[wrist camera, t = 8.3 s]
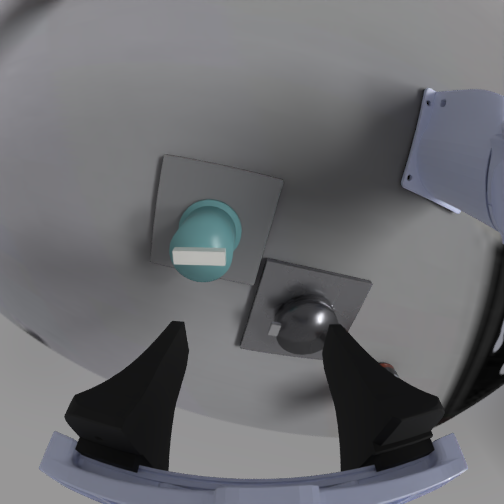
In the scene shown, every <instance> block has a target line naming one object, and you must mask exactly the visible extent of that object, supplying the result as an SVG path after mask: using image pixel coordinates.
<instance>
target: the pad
mask: <svg viewBox="0 0 504 504" xmlns="http://www.w3.org/2000/svg"><path fill="white" fill-rule="evenodd" d="M283 182H284V180H283V179H279V178H275V177H271V176H267V175H263V174H259V173H255V172H251V171H247V170H242V169H238V168H234V167H229V166H225V165H220V164H215V163H211V162H206V161H201V160H195V159H190V158H185V157H179V156H174V155H168V154H166V155H164V158H163V164H162V169H161V175H160V182H159V188H158V195H157V202H156V210H155V218H154V226H153V236H152V246H151V257H150V262H152V263H156V264H160V265H164V266H168V267H172V268H175V267H174V265H173V263H172V261H171V258H170V254H169V248H170V242H171V240H172V238H173V236H174V235H175V233H176V232H177V230H178V229H179V222H180V219H181V217H182V215H183V213H184V212H185V211H186V210H187V208H188V207H189V206H191V205H192V204H193V203H195V202H197V201H200V200H204V199H215V200H219V201H222V202H224V203H226V204H228V205H229V206H230V207H232V208H233V209H234V211H235V212H236V213H237V215H238V217H239V219H240V222H241V227H242V232H241V239H240V242H239V244H238V246H237V248H236V249H235V250H234V251H233V258H232V263H231V265H230V267H229V269H228V271H227V272H226V273H225V274H224V275H223V276H221V277H220V279H225V280H229V281H234V282H239V283H243V284H248V285H253V286H254V283H255V279H256V276H257V273H258V269H259V266H260V262H261V259H262V256H263V252H264V249H265V245H266V242H267V238H268V235H269V231H270V228H271V225H272V221H273V218H274V214H275V211H276V207H277V204H278V200H279V197H280V193H281V190H282V186H283Z"/></svg>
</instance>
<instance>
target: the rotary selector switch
mask: <svg viewBox="0 0 504 504" xmlns="http://www.w3.org/2000/svg"><path fill="white" fill-rule="evenodd" d="M371 286H372V282H371V281H369V280H365V279H360V278H356V277H351V276H347V275H342V274H338V273H333V272H329V271H324V270H320V269H315V268H311V267H306V266H302V265H297V264H293V263H288V262H284V261H279V260H275V259H270V258H267V259H266V263H265V266H264V269H263V273H262V276H261V279H260V282H259V286H258V289H257V292H256V296H255V299H254V302H253V305H252V308H251V312H250V315H249V318H248V321H247V325H246V328H245V331H244V334H243V337H242V340H241V344H240V348H241V349H247V350H252V351H258V352H265V353H271V354H278V355H285V356H293V357H301V358H310V359H319V360H323V357H322V351H323V347H324V343H325V339H326V335H327V331H328V327H329V324H341V325H342V326H343V327H344V328H345V329H346V330H347V332H348V330H349V329H350V327H351V325H352V323H353V321H354V320H355V318H356V316H357V314H358V312H359V310H360V308H361V306H362V304H363V302H364V300H365V298H366V296H367V294H368V292H369V290H370V288H371Z"/></svg>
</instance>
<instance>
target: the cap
mask: <svg viewBox="0 0 504 504" xmlns="http://www.w3.org/2000/svg"><path fill="white" fill-rule="evenodd" d="M241 232H242V227H241V222H240V219H239V217H238V215H237V213H236V212H235V211H234V209H233V208H232V207H230V206H229V205H228V204H226V203H224V202H222V201H219V200H215V199H204V200H200V201H197V202H195V203H193V204H192V205H191V206H189V207H188V208H187V210H186V211H185V212H184V213H183V215H182V217H181V219H180V222H179V229H178V230H177V232H176V233H175V235H174V236H173V238H172V240H171V242H170V248H169V254H170V258H171V261H172V263H173V265H174V267H175V268H176V270H177V271H178V272H179V273H180V274H182V275H183V276H184V277H186V278H188V279H190V280H193V281H197V282H210V281H214V280H216V279H218V278H220V277H221V276H223V275H224V274H225V273H226V272H227V271H228V269H229V267H230V265H231V263H232V258H233V251H234V250H235V249H236V248H237V246H238V244H239V242H240V239H241Z"/></svg>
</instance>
